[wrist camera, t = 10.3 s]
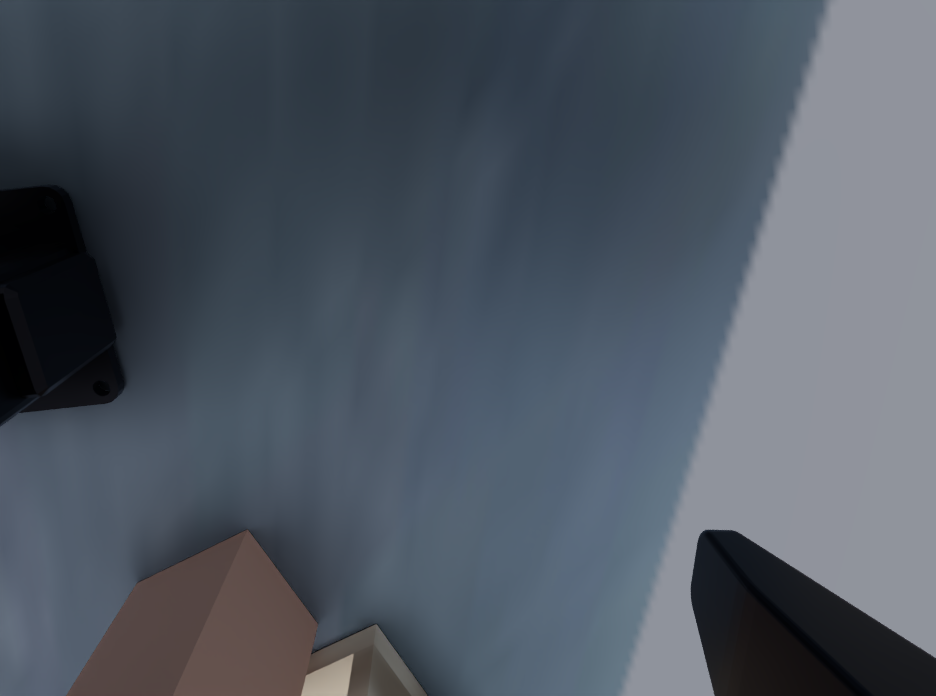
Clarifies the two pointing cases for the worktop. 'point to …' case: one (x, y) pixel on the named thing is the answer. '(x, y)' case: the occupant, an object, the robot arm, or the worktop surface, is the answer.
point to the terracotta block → (206, 631)
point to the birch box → (360, 669)
